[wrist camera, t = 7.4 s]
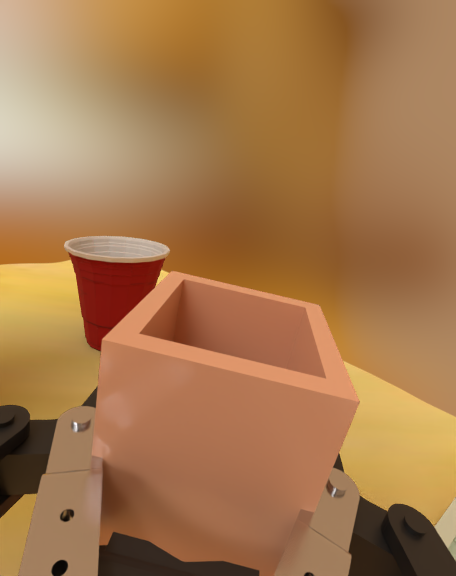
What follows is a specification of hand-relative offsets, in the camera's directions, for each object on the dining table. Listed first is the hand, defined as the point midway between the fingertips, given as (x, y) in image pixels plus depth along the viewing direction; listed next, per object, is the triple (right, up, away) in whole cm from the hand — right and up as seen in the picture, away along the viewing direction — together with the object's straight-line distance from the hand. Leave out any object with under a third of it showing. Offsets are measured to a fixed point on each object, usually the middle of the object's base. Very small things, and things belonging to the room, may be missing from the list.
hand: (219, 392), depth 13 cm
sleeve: (-2, -7, 0) cm, 7 cm away
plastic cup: (-14, -2, +26) cm, 30 cm away
